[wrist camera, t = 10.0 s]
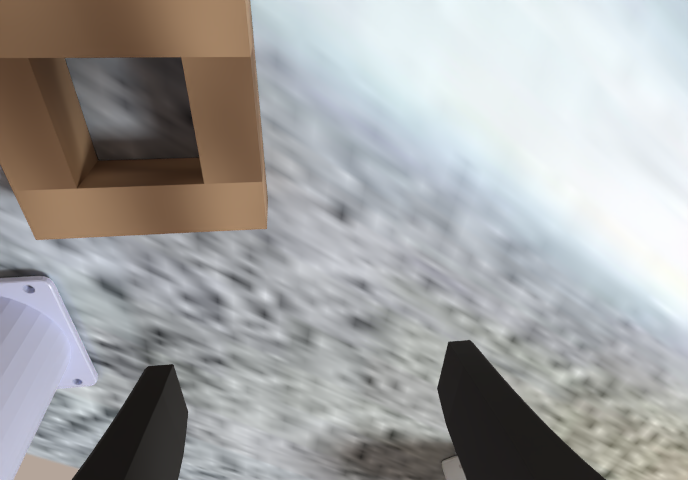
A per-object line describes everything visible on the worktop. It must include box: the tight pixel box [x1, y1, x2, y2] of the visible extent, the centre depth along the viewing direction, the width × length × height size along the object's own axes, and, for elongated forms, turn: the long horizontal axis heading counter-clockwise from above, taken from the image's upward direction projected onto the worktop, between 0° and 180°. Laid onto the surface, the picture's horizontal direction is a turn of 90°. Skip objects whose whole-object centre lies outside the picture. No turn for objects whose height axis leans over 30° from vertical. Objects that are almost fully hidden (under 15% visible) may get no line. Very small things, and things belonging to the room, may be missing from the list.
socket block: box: [0, 0, 268, 240], centre depth 16 cm, size 9×9×2 cm
